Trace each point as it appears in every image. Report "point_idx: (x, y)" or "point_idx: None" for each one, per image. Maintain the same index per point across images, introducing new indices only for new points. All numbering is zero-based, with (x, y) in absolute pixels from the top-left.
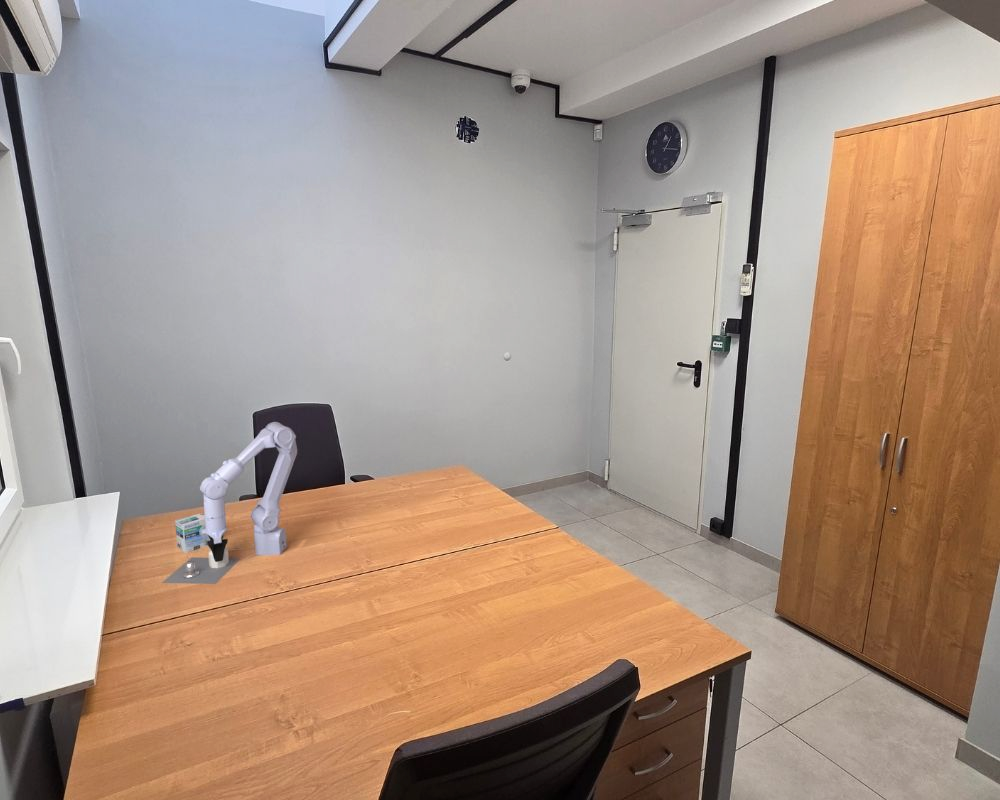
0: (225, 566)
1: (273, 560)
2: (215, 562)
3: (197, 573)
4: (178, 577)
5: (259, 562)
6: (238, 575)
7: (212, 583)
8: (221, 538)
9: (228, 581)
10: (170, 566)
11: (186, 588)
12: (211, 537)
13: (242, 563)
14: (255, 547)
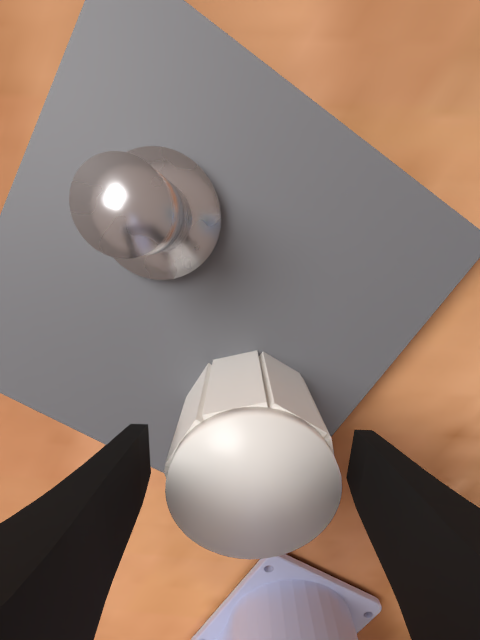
0: None
1: (183, 620)
2: (186, 409)
3: (124, 264)
4: (155, 111)
5: (193, 571)
6: None
7: None
8: (414, 627)
9: (17, 422)
10: (474, 65)
11: (4, 173)
12: (474, 588)
13: None
14: (293, 637)
